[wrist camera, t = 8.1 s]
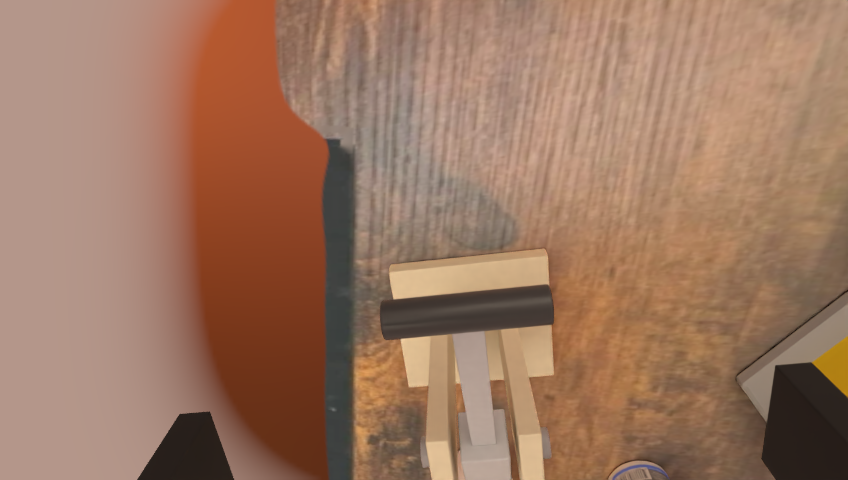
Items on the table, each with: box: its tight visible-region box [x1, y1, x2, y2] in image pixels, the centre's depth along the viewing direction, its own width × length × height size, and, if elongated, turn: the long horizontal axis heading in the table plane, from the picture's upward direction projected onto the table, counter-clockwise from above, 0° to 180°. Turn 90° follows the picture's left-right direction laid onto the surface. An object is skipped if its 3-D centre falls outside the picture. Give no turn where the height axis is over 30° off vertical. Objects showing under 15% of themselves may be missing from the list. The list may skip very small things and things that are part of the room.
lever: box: [380, 284, 554, 480], centre depth 22 cm, size 13×6×2 cm, turn 8°
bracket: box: [389, 248, 554, 480], centre depth 31 cm, size 9×10×14 cm
